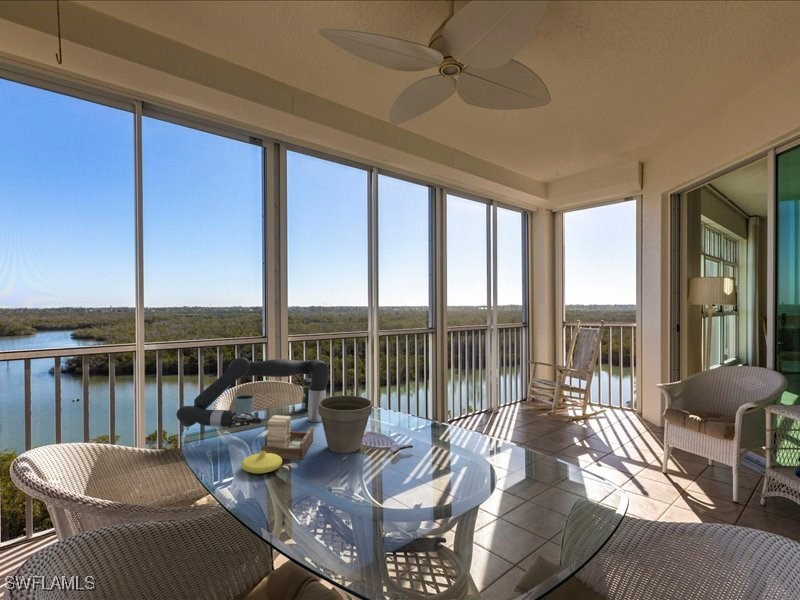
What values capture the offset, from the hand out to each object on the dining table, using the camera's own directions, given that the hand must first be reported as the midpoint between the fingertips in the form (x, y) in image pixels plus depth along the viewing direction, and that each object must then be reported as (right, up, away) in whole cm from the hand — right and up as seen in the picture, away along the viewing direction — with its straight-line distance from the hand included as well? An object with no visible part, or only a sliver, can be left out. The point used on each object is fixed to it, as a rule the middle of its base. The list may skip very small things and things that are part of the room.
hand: (261, 420), depth 188 cm
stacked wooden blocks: (+8, -11, 0) cm, 14 cm away
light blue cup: (-23, -10, +39) cm, 46 cm away
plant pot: (+37, -14, +5) cm, 40 cm away
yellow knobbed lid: (+7, -14, -20) cm, 26 cm away
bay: (+12, -13, +1) cm, 18 cm away
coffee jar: (+8, -11, +62) cm, 64 cm away
